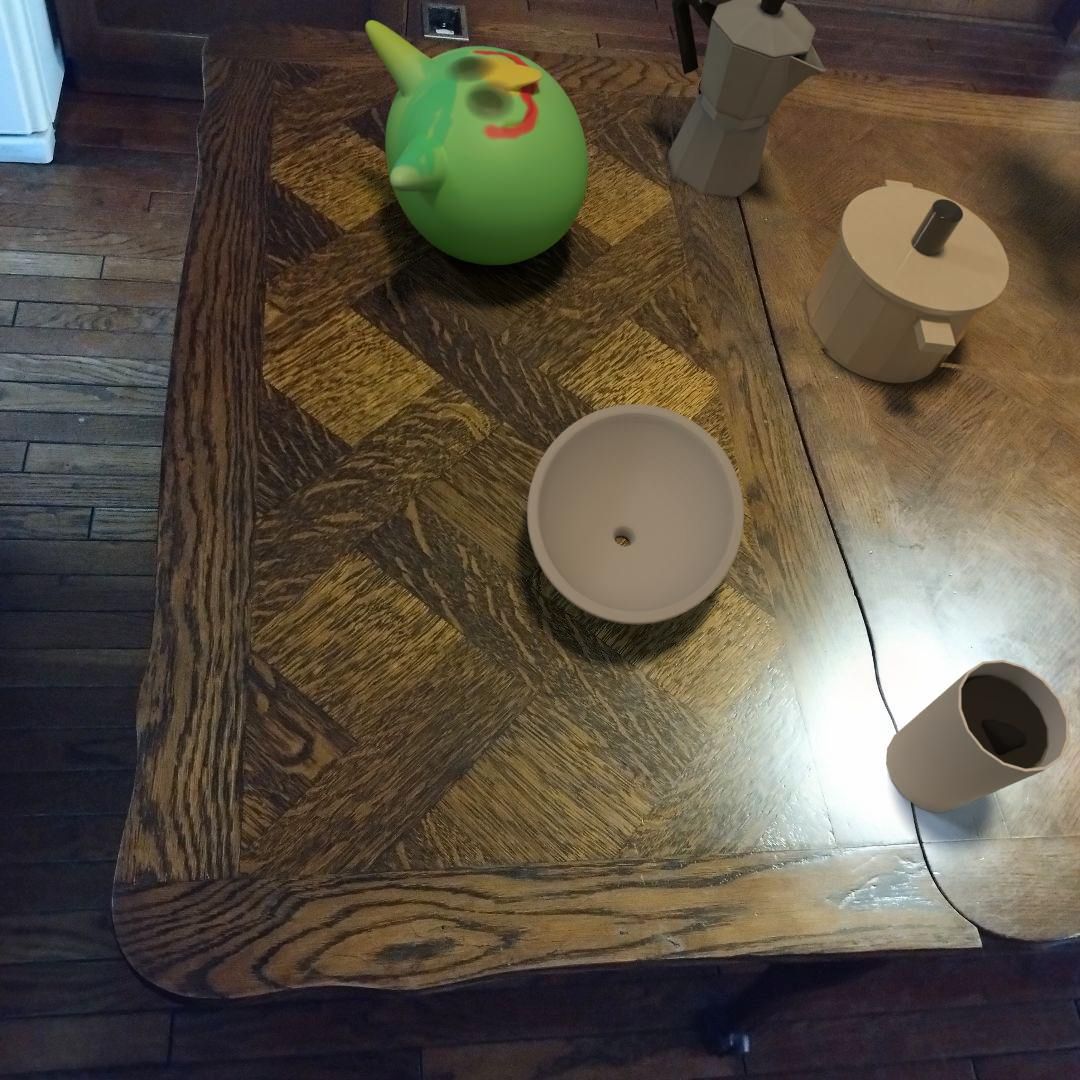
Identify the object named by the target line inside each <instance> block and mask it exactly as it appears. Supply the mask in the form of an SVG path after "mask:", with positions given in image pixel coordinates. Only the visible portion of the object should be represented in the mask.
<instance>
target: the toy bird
mask: <svg viewBox="0 0 1080 1080" xmlns="http://www.w3.org/2000/svg"><path fill="white" fill-rule="evenodd" d="M364 28H365V32H366V35H367V38H368V39H369V41H370V43H371V45H372V46H373V48H374V50H375V51H376V53H377V55H378V57H379V58H380V60H381V61H382V63H383V64H384V67H385V68H386V69H387V71H388V72H389V74H390V76H391V77H392V79H393V81H394V83H395V84H396V86H397V87H398V90H397V92H396V94H395V96H394V98H393V101H392V103H391V106H390V109H389V112H388V116H387V121H386V126H385V127H386V128H385V138H384V139H385V141H384V145H385V146H384V148H385V160H386V166H387V171H388V177H389V184H390V185H391V187H392V189H393V192H394V195H395V197H396V199H397V202H398V204H399V205H400V207H401V209H402V211H403V213H404V214H405V216H406V217H407V219H408V221H409V222H410V223H411V225H412V226H413V227H414V229H416V230H417V232H418V233H419V234H420V235H421V236H422V237H423V238H424V239H425V240H427V242H428V243H430V244H431V245H432V246H434V247H435V248H436V249H438V250H439V251H441V252H443V253H444V254H446V255H448V256H451V257H453V258H455V259H458V260H460V261H464V262H466V263H471V264H476V265H482V266H506V265H511V264H516V263H520V262H524V261H526V260H530V259H532V258H534V257H536V256H538V255H541V254H543V252H546V251H547V250H549V249H550V248H552V246H554V245H555V244H557V243H558V242H559V241H560V240H561V239H562V238H563V237H564V236H565V235H566V234H567V232H568V231H569V230H570V228H572V226H573V225H574V223H575V221H576V219H577V218H578V216H579V213H580V211H581V209H582V207H583V203H584V201H585V198H586V192H587V189H588V181H589V156H588V155H589V154H588V148H587V147H588V146H587V142H586V137H585V133H584V130H583V129H584V128H583V126H582V124H581V123H582V122H581V121H580V118H579V115H578V113H577V111H576V108H575V106H574V105H573V103H572V101H571V99H570V98H569V96H568V94H567V93H566V92H565V90H564V88H563V87H562V86H561V85H560V83H558V81H557V80H556V79H555V78H554V77H553V76H552V75H551V74H550V73H549V72H548V71H546V70H545V69H544V68H542V67H541V66H540V65H539V64H537V63H536V62H534V61H533V60H532V59H530V58H528V57H526V56H523V55H521V54H519V53H516V52H513V51H510V50H509V49H504V48H500V47H494V46H483V45H470V46H462V47H458V48H453V49H450V50H447V51H444V52H442V53H439V54H437V55H435V56H433V57H431V58H430V57H429V56H427V55H426V54H425V53H423V52H422V51H421V50H419V49H418V48H417V47H416V46H414V45H413V44H411V43H410V42H409V41H407V39H405V38H403V37H402V36H400V35H399V34H398V33H397V32H395V31H394V30H392V29H391V28H389V27H388V26H387V25H385V24H383V23H381V22H379V21H376V20H373V19H370V20H368V21H367V22H366V23H365V27H364Z"/></svg>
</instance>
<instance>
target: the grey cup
mask: <svg viewBox="0 0 1080 1080" xmlns="http://www.w3.org/2000/svg"><path fill="white" fill-rule="evenodd" d="M1070 732H1071V731H1070V719H1069V717H1068V714H1067V712H1066V710H1065V707H1064V705H1063V703H1062V700H1061V698H1060V697H1059V695H1058V694H1057V693H1056V692H1055V690H1053V688H1052V687H1051V686H1050V685H1049V684H1048V683H1047V681H1046V680H1045V679H1043V678H1042V677H1041V676H1039V675H1038V674H1037V673H1035V672H1033V671H1032V670H1031V669H1029V668H1028V667H1026V666H1025V665H1021V664H1017V663H1014V662H1011V661H1007V660H1004V659H999V660H987V661H981V662H980V663H978V664H977V665H975V666H973V667H972V668H970V669H968V670H967V671H966V672H965V673H964V674H963V675H961V676H960V677H959V678H958V679H957V680H956V681H954V682H953V683H952V684H951V685H950V686H949V687H948V688H946V689H945V690H944V691H943V692H942V693H941V694H940V695H939V696H937V697H936V698H935V699H934V700H933V701H932V702H931V703H929V704H928V705H927V706H926V707H925V708H924V709H923V710H921V711H920V712H919V713H918V714H917V715H915V716H914V717H913V718H912V719H911V720H909V722H907V724H905V725H904V726H903V727H902V728H901V729H899V731H897V732H896V733H895V734H894V735H893V737H892V739H891V740H890V742H889V744H888V746H887V748H886V761H885V762H886V763H885V765H886V767H887V771H888V774H889V776H890V780H891V783H893V785H894V787H895V788H896V789H897V790H898V792H899V793H900V795H901V796H902V797H903V798H905V799H906V800H907V801H908V802H910V803H912V804H913V805H914V806H916V807H917V808H918V809H923V810H926V811H929V812H932V813H943V812H950V811H951V812H952V811H953V810H956V809H959V808H960V807H962V806H965V805H967V804H969V803H972V802H975V801H976V800H979V799H981V798H984V797H986V796H989V795H991V794H993V793H996V792H998V791H1000V790H1002V789H1005V788H1007V787H1009V786H1012V785H1014V784H1016V783H1019V782H1021V781H1023V780H1026V779H1028V778H1030V777H1033V776H1035V775H1037V774H1040V773H1042V772H1044V771H1047V770H1048V769H1050V768H1051V767H1053V766H1054V765H1055V764H1057V763H1058V762H1059V761H1061V760H1063V757H1064V755H1065V754H1066V751H1067V749H1068V746H1069V744H1070V742H1071V736H1070V735H1071V734H1070Z"/></svg>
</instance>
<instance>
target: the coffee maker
mask: <svg viewBox="0 0 1080 1080" xmlns="http://www.w3.org/2000/svg"><path fill="white" fill-rule="evenodd" d="M690 6H691V7H692V8H693V10H694V11H695V13H697V15H698V17H699V18H700V19H701V20H702V21H703V23H704V24H705V25H706V27H707V28H708V30H709V33H708V38H707V39H708V40H707V44H706V49H705V55H704V61H703V67H702V72H701V78H700V83H699V91H700V94H698V95H697V96H696V98H695V101H694V102H693V104H692V106H691V108H690V110H689V112H688V114H687V116H686V118H685V120H684V122H683V124H682V126H681V127H680V129H679V131H678V133H677V135H676V138H675V140H674V141H673V143H672V145H671V147H670V149H669V151H668V153H667V155H666V156H667V160H668V161H667V162H668V167H669V172H670V176H671V180H672V181H673V182H675V183H676V184H678V179H680V180H681V181H683V183H685V184H687V185H688V186H690V187H691V188H693V189H694V190H696V192H697V191H698V193H700V194H701V195H708V196H720V197H732V198H738V197H739V196H741V195H742V194H743V193H744V192H746V191H747V190H748V189H749V188H751V187H752V186H753V185H755V184H756V183H757V182H758V179H759V174H760V171H761V166H762V165H761V164H762V160H763V156H764V153H765V152H764V151H765V148H766V141H767V139H768V133H769V129H770V124H771V119H770V116H773V115H774V113H775V112H776V110H777V109H778V108H779V106H780V104H781V102H782V101H783V100H784V98H785V97H786V96H787V95H789V93H791V92H792V91H793V90H794V89H796V88H797V87H798V86H800V85H801V84H802V83H804V82H805V81H806V80H808V79H809V78H810V77H811V76H813V75H814V74H816V73H825V72H827V70H826V67H825V66H824V65H823V63H822V61H821V59H820V56H819V55H818V53H817V52H816V50H815V48H814V46H813V44H812V42H813V38H814V36H815V33H816V28H815V26H813V25H812V23H811V22H810V21H809V20H808V19H807V18H806V17H805V16H804V15H803V13H801V11H800V10H799V9H798V8H797V7H796V6H795V4H792V3H789V2H787V1H786V0H671V8H672V13H673V19H674V25H675V30H676V37H677V42H678V49H679V54H680V60H681V67H682V72H683V75H688V74H690V73H692V72H694V71H696V70H697V69H699V61H698V55H697V48H696V42H695V35H694V29H693V23H692V16H691V15H692V14H691V9H690Z"/></svg>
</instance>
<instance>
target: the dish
mask: <svg viewBox="0 0 1080 1080" xmlns="http://www.w3.org/2000/svg"><path fill="white" fill-rule="evenodd" d="M744 522H745V507H744V498H743V491H742V488H741V484H740V481H739V478H738V475H737V472H736V470H735V468H734V466H733V463H732V462H731V460H730V458H729V457H728V454H727V453H726V452H725V451H724V449H723V448H722V446H721V445H720V444H719V443H718V441H717V440H716V439H715V438H714V437H713V436H712V435H711V434H710V433H709V432H708V431H707V430H705V429H704V428H703V427H702V426H701V425H699V424H698V423H696V422H695V421H693V420H692V419H690V418H689V417H687V416H685V415H683V414H681V413H678V412H676V411H674V410H671V409H668V408H665V407H662V406H656V405H651V404H641V403H625V404H620V405H612V406H609V407H604V408H602V409H598V410H596V411H593V412H591V413H588V414H587V415H585V416H583V417H581V418H580V419H578V420H576V421H575V422H573V423H572V424H570V425H569V426H568V427H567V428H566V429H564V430H563V431H562V432H561V433H560V434H559V435H558V436H557V437H556V438H555V440H553V441H552V443H551V444H550V445H549V447H548V448H547V449H546V451H545V452H544V454H543V456H542V457H541V458H540V460H539V462H538V465H537V466H536V468H535V471H534V474H533V477H532V479H531V483H530V486H529V491H528V496H527V504H526V523H527V530H528V537H529V541H530V545H531V549H532V551H533V554H534V557H535V559H536V561H537V563H538V565H539V567H540V569H541V571H542V572H543V574H544V576H545V577H546V579H547V580H548V581H549V582H550V584H551V585H552V586H553V588H554V589H555V590H556V591H557V592H558V593H559V594H560V595H561V596H562V597H564V598H565V599H566V600H567V601H568V602H570V604H572V605H573V606H575V607H576V608H578V609H579V610H581V611H583V612H585V613H587V614H589V615H591V616H593V617H595V618H598V619H600V620H604V621H607V622H612V623H616V624H621V625H630V626H631V625H633V626H634V625H636V626H638V625H650V624H656V623H660V622H665V621H668V620H671V619H674V618H676V617H679V616H681V615H683V614H685V613H687V612H689V611H690V610H692V609H694V608H696V607H697V606H698V605H701V603H702V602H704V601H705V600H706V599H707V598H708V597H710V595H712V594H713V593H714V591H716V589H717V588H718V587H719V586H720V585H721V583H722V582H723V580H724V579H725V578H726V576H727V575H728V573H729V572H730V570H731V568H732V566H733V565H734V562H735V560H736V557H737V555H738V552H739V549H740V545H741V542H742V538H743V532H744ZM617 537H624V538H626V539H627V540H628V542H629V543H628V544H629V545H626V546H624V545H621V544H619V543H618V542H617V541H616V538H617Z"/></svg>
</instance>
